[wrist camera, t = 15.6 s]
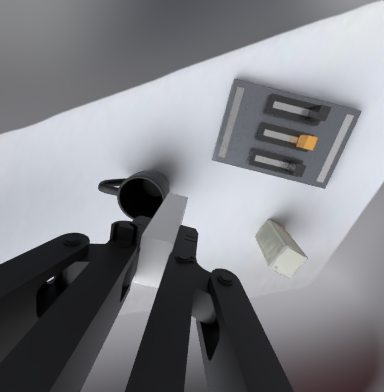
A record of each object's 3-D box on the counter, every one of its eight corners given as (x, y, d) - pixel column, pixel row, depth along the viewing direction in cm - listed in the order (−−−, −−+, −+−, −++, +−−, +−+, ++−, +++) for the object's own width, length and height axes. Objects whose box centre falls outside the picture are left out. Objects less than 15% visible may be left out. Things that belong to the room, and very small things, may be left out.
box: (270, 245, 45) (288, 280, 35) (253, 235, 45) (267, 268, 35) (285, 227, 44) (309, 258, 33) (268, 217, 43) (287, 245, 33)
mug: (122, 155, 42) (97, 162, 33) (178, 171, 42) (170, 183, 33) (115, 192, 44) (92, 208, 35) (169, 207, 45) (159, 228, 36)
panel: (233, 80, 36) (238, 71, 30) (355, 111, 36) (384, 108, 30) (212, 159, 41) (212, 164, 35) (320, 186, 40) (340, 196, 35)
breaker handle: (300, 134, 35) (308, 135, 32) (309, 136, 35) (318, 137, 32) (295, 146, 35) (303, 148, 33) (304, 148, 35) (312, 150, 33)
